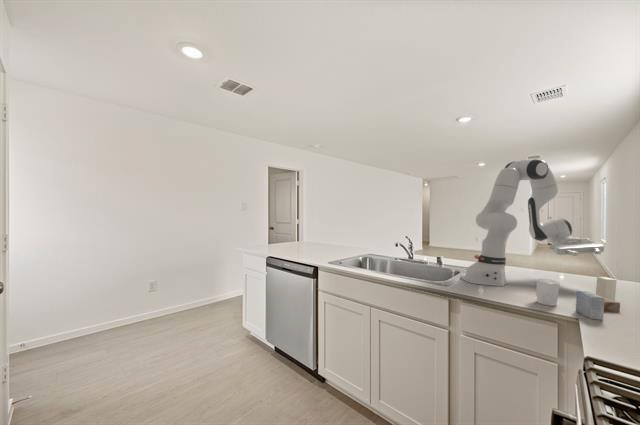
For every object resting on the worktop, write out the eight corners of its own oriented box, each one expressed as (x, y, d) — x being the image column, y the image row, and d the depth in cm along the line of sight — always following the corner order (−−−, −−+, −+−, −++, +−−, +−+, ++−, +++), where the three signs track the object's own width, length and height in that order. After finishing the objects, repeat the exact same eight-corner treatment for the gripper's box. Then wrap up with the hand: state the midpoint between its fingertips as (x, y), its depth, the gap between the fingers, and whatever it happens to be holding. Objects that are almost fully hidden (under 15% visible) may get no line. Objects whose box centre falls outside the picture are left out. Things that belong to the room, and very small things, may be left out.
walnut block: (597, 311, 113) (597, 301, 113) (577, 303, 122) (577, 294, 122) (619, 312, 113) (620, 302, 112) (597, 303, 122) (598, 295, 121)
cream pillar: (604, 300, 125) (606, 279, 124) (595, 297, 129) (597, 276, 129) (614, 301, 125) (616, 279, 124) (605, 297, 129) (606, 277, 128)
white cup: (533, 302, 120) (534, 280, 120) (537, 298, 125) (538, 277, 125) (556, 308, 114) (557, 284, 114) (560, 304, 119) (561, 281, 119)
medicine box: (603, 320, 103) (605, 298, 103) (589, 319, 104) (591, 296, 104) (587, 312, 111) (589, 291, 111) (575, 310, 112) (576, 290, 112)
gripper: (547, 241, 151) (562, 249, 138) (592, 237, 146) (612, 246, 133) (547, 251, 152) (562, 260, 139) (592, 249, 147) (612, 258, 134)
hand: (587, 253), depth 136 cm, fingers open, 8 cm apart
